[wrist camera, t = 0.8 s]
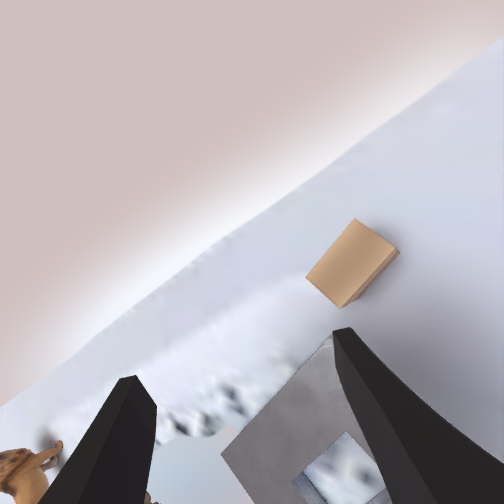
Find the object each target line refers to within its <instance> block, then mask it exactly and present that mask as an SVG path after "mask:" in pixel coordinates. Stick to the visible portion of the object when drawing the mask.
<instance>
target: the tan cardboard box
mask: <svg viewBox="0 0 504 504" xmlns="http://www.w3.org/2000/svg"><path fill="white" fill-rule="evenodd" d="M398 255H399V251H398V250H397V249H396V248H395V247H394V246H392V245H391V244H390V243H388V242H387V241H385V240H384V239H383V238H381V237H380V236H379V235H377V234H376V233H375V232H373V231H372V230H371V229H369V228H368V227H366V226H365V225H364V224H362V223H361V222H360V221H358V220H357V219H356V218H354V219H353V221H352V222H351V223H350V224H349V225H348V227H347V228H346V229H345V230H344V231H343V233H342V234H341V235H340V236H339V237H338V239H337V240H336V241H335V242H334V243H333V245H332V246H331V247H330V248H329V249H328V251H327V252H326V253H325V254H324V255H323V257H322V258H321V259H320V260H319V261H318V263H317V264H316V265H315V266H314V267H313V269H312V270H311V271H310V272H309V273H308V274H307V276H306V277H305V278H306V279H308V280H309V281H310V282H311V283H312V284H313V285H314V286H315V287H316V288H317V289H319V290H320V291H321V292H322V293H323V294H324V295H325V296H326V297H327V298H328V299H330V300H331V301H332V302H333V303H334V304H335V305H336V306H337V307H338V308H339V309H341V308H342V307H344V306H346V305H348V304H349V303H351V302H353V301H355V300H356V299H358V298H359V297H360V296H361V295H362V294H363V293H364V291H365V290H366V289H367V288H368V287H369V286H370V285H371V284H372V283H373V282H374V281H375V280H376V278H377V277H378V276H379V275H380V274H381V273H382V272H383V271H384V270H385V269H386V268H387V266H388V265H389V264H390V263H391V262H392V261H393V260H394V259H395V258H396V257H397V256H398Z"/></svg>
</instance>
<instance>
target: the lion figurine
mask: <svg viewBox="0 0 504 504" xmlns="http://www.w3.org/2000/svg"><path fill="white" fill-rule="evenodd" d="M55 446H56V447H55V448H52V449H48V450H45V451H42V452H40V453H38V454H36V455H35V454H34V453H32V452H31V450H28V449H26V448H21V449H14V450H7V451H4V452H1V453H0V492H4V493H7V494H10V495H11V496H13V498H14V500H15V502H16V504H37V503H38V502H39V501H40V499H41V498H42V496H43V495H44V494H45V492H46V491H47V490H48V488H49V483H48V479H47V477H46V475H45V473H44V472H45V471H46V470H48V469H50V468H52V467H54V466H55V465H56V464H57V462H58V458H57V457H56V456H55V455H56V454H57V453H58V452H59V451H60V450H61V449H62V441H58V442H56V445H55ZM53 455H54V456H53ZM50 457H51V460H50V461H49V462H47V463H45V464H43V462H44V461H45V460H47V459H48V458H50Z"/></svg>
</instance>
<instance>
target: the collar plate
mask: <svg viewBox="0 0 504 504" xmlns="http://www.w3.org/2000/svg"><path fill="white" fill-rule="evenodd" d="M345 431H347V432H348V433H349V434H350V435H351V436H352V437H353V438H354V440H355V441H356V442H357V443H358V444H359V445H360V446H361V447H362V448H363V449H364V451H365V452H366V453H367V454H368V455H369V456H370V457H371V458H372V459H373V460H374V462H375V463H376V461H375V458H374V456H373V454H372V452H371V450H370V448H369V446H368V443H367V441H366V439H365V437H364V435H363V433H362V431H361V428H360V426H359V424H358V422H357V420H356V418H355V415H354V413H353V411H352V409H351V407H350V405H349V402H348V400H347V398H346V396H345V393H344V391H343V388H342V385H341V382H340V379H339V376H338V373H337V370H336V368H335V358H334V344H333V335H331V336H330V337H329V338H328V339H327V340H326V341H325V342H324V343H323V345H322V346H321V347H320V348H319V349H318V350H317V351H316V352H315V353H314V354H313V355H312V356H311V357H310V358H309V360H308V361H307V362H306V363H305V364H304V365H303V366H302V367H301V368H300V369H299V370H298V371H297V372H296V374H295V375H294V376H293V377H292V378H291V379H290V380H289V381H288V382H287V383H286V384H285V385H284V386H283V387H282V389H281V390H280V391H279V392H278V393H277V394H276V395H275V396H274V397H273V398H272V399H271V400H270V401H269V403H268V404H267V405H266V406H265V407H264V408H263V409H262V410H261V411H260V412H259V413H258V414H257V415H256V416H255V418H254V419H253V420H252V421H251V422H250V423H249V424H248V425H247V426H246V427H245V428H244V429H243V430H242V432H241V433H240V434H239V435H238V436H237V437H236V438H235V439H234V440H233V441H232V442H231V443H230V444H229V446H228V447H227V448H226V449H225V450H224V451H223V452H222V453H221V456H222V457H223V458H224V460H225V461H226V463H227V464H228V466H229V467H230V468H231V470H232V471H233V473H234V474H235V476H236V477H237V479H238V480H239V482H240V483H241V484H242V486H243V487H244V489H245V490H246V492H247V493H248V494H249V496H250V497H251V499H252V500H253V502H254V503H255V504H327V502H326V501H325V500H324V498H323V497H322V496H321V495H320V493H319V492H318V491H317V490H316V488H315V487H314V486H313V485H312V483H311V482H310V481H309V480H308V478H307V477H306V476H305V475H304V473H303V472H302V471H303V470H304V469H305V468H306V467H307V466H308V465H309V464H311V463H312V462H313V461H314V460H315V459H316V458H317V457H318V456H319V455H320V454H321V453H322V452H324V451H325V450H326V449H327V448H328V447H329V446H330V445H331V444H332V443H333V442H334V441H336V440H337V439H338V438H339V437H340V436H341V435H342V434H343V433H344V432H345ZM376 464H377V463H376ZM367 504H392V501H391V498H390V496H389V493H388V490H387V488H385V489H384V490H383V491H382V492H381V493H379V494H378V495H377V496H376V497H374V498H373V499H372V500H371V501H369V502H368V503H367Z"/></svg>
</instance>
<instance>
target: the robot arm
mask: <svg viewBox="0 0 504 504" xmlns="http://www.w3.org/2000/svg"><path fill="white" fill-rule="evenodd" d="M333 344H334V358H335V368H336V370H337V373H338V376H339V379H340V382H341V385H342V388H343V391H344V393H345V396H346V398H347V400H348V402H349V405H350V407H351V409H352V411H353V413H354V415H355V418H356V420H357V422H358V424H359V426H360V428H361V431H362V433H363V435H364V437H365V439H366V441H367V443H368V446H369V448H370V450H371V452H372V454H373V456H374V458H375V461H376V463H377V465H378V468H379V470H380V472H381V475H382V477H383V480H384V482H385V485H386V488H387V490H388V493H389V496H390V498H391V501H392V504H504V464H503V463H502V462H500V461H499V460H498V459H496V458H495V457H493V456H492V455H490V454H489V453H488V452H486V451H485V450H484V449H482V448H481V447H480V446H478V445H477V444H476V443H474V442H473V441H472V440H470V439H469V438H468V437H466V436H465V435H464V434H463V433H461V432H460V431H459V430H457V429H456V428H455V427H454V426H452V425H451V424H450V423H449V422H448V421H446V420H445V419H444V418H443V417H441V416H440V415H439V414H438V413H437V412H435V411H434V410H433V409H432V408H431V407H430V406H428V405H427V404H426V403H425V402H424V401H423V400H422V399H421V398H419V397H418V396H417V395H416V394H415V393H414V392H413V391H412V390H410V389H409V388H408V387H407V386H406V385H405V384H404V383H403V382H402V381H401V380H400V379H399V378H398V377H397V376H396V375H395V374H394V373H393V372H392V371H391V370H390V369H389V368H388V367H387V366H386V365H385V364H384V363H383V362H382V361H381V360H380V359H379V358H378V357H377V356H376V355H375V354H374V353H373V352H372V351H371V350H370V349H369V348H368V346H367V345H366V344H365V343H364V342H363V341H362V340H361V339H360V337H359V336H358V335H357V334H356V333H355V331H354V330H353V329H352V328H350V327H348V328H344V329H339V330H335V331H333ZM156 417H157V405H156V404H155V402H154V401H153V399H152V398H151V397H150V395H149V394H148V392H147V391H146V389H145V388H144V386H143V385H142V383H141V382H140V380H139V379H138V377H137V376H136V375H133V376H129V377H125V378H120V379H119V380H118V382H117V383H116V385H115V387H114V388H113V390H112V391H111V393H110V395H109V396H108V398H107V399H106V401H105V403H104V404H103V406H102V408H101V409H100V411H99V412H98V414H97V416H96V417H95V419H94V421H93V422H92V424H91V425H90V427H89V428H88V430H87V432H86V433H85V435H84V436H83V438H82V439H81V441H80V443H79V444H78V446H77V447H76V449H75V450H74V452H73V453H72V455H71V456H70V458H69V459H68V461H67V462H66V464H65V465H64V466H63V468H62V469H61V471H60V472H59V474H58V475H57V477H56V478H55V480H54V481H53V483H52V484H51V485H50V487H49V488H48V490H47V491H46V492H45V494H44V495H43V496H42V498H41V499H40V501H39V502H38V503H37V504H144V500H145V495H146V489H147V483H148V477H149V471H150V466H151V460H152V454H153V448H154V442H155V434H156Z"/></svg>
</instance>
